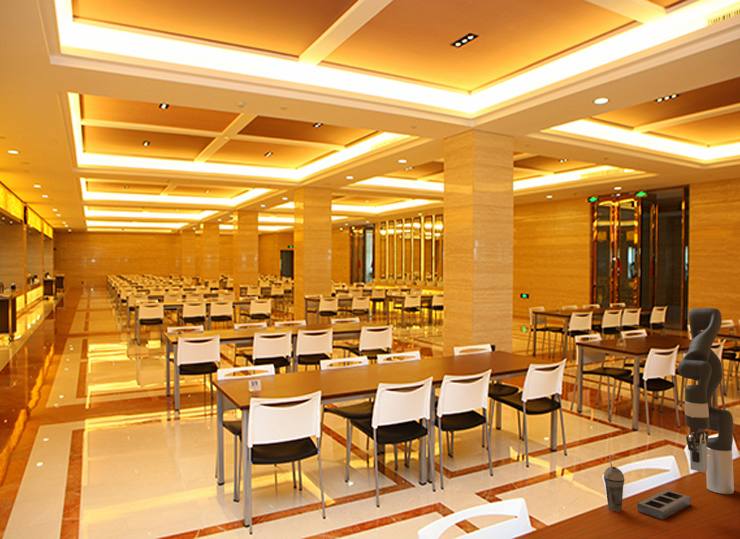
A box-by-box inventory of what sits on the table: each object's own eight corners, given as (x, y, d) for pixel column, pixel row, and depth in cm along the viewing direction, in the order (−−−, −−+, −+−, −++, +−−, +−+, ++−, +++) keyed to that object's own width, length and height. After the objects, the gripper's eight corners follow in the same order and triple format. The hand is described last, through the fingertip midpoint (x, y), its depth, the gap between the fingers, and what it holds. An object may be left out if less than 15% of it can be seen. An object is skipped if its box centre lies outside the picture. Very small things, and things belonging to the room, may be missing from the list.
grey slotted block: (665, 497, 203) (665, 489, 203) (690, 504, 195) (690, 496, 195) (637, 511, 190) (637, 503, 190) (662, 519, 183) (662, 511, 183)
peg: (695, 466, 191) (694, 440, 192) (707, 469, 188) (706, 442, 188) (690, 469, 189) (689, 442, 189) (702, 472, 186) (701, 444, 186)
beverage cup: (628, 514, 188) (626, 459, 189) (607, 512, 189) (605, 458, 190) (622, 505, 195) (620, 453, 196) (602, 504, 196) (600, 452, 197)
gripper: (694, 409, 197) (695, 454, 196) (677, 415, 188) (679, 462, 188) (716, 413, 190) (718, 459, 190) (699, 419, 182) (701, 467, 181)
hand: (698, 460), depth 189 cm, fingers closed on peg, 4 cm apart
